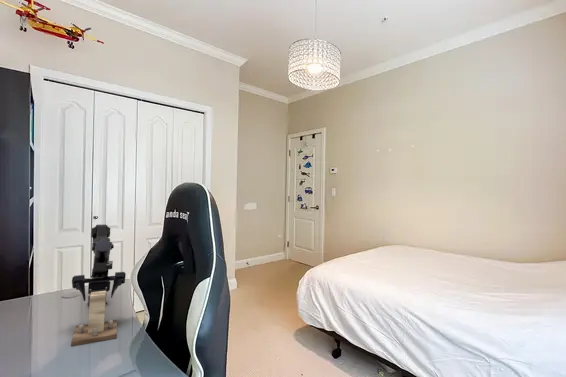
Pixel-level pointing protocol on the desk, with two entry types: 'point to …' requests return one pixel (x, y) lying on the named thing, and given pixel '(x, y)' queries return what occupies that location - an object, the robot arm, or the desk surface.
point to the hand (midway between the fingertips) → (98, 298)
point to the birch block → (97, 311)
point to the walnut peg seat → (94, 333)
